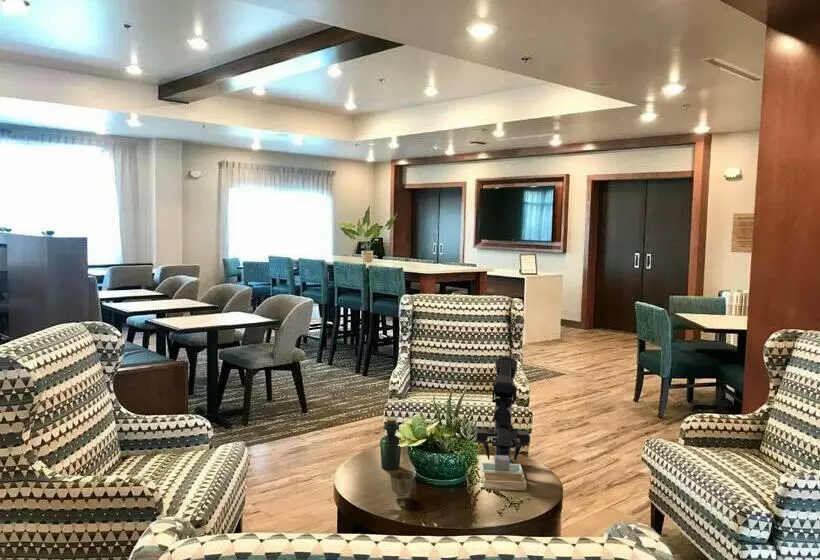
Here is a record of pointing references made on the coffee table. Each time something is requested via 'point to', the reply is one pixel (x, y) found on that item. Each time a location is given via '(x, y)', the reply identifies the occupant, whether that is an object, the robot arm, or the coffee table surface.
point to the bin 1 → (512, 469)
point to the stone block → (501, 463)
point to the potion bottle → (390, 446)
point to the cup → (401, 483)
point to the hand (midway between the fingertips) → (501, 460)
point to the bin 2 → (503, 481)
